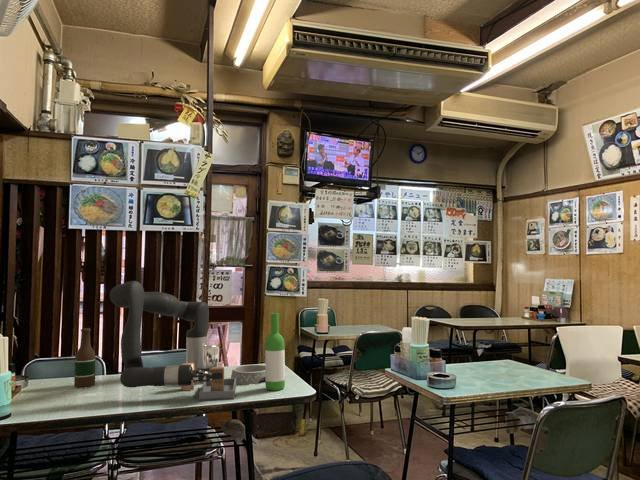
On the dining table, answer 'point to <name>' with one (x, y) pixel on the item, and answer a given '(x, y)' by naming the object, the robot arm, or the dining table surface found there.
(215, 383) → the walnut block
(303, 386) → the dining table surface
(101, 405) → the dining table surface
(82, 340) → the beer bottle
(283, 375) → the wine bottle
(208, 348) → the beer glass
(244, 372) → the dog bowl
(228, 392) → the tote
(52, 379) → the dining table surface
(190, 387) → the terracotta jar
